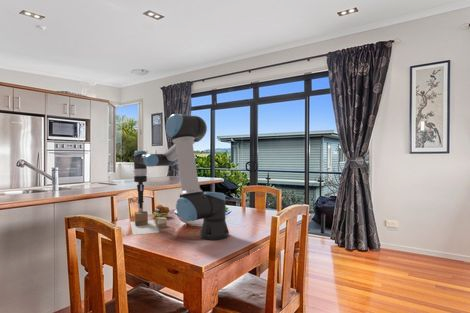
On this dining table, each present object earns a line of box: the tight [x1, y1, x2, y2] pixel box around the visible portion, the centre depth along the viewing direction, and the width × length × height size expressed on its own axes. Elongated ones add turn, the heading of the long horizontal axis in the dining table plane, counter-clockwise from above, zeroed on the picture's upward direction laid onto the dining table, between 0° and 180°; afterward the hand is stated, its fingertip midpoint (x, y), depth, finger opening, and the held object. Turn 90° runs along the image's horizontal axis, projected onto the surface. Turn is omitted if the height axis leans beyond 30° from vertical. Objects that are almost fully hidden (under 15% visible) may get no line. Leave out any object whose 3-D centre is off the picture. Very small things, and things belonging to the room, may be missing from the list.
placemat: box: [129, 219, 160, 236], centre depth 176 cm, size 32×14×1 cm, turn 22°
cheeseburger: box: [151, 204, 170, 220], centre depth 202 cm, size 10×11×10 cm
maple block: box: [154, 217, 168, 229], centre depth 178 cm, size 5×5×5 cm
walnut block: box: [134, 210, 149, 226], centre depth 182 cm, size 7×7×7 cm
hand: (140, 213), depth 187 cm, fingers closed
